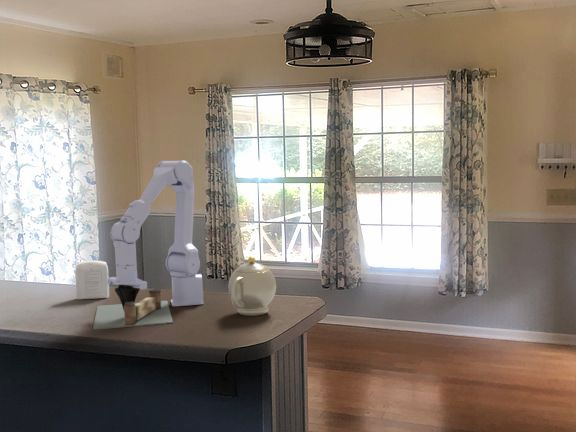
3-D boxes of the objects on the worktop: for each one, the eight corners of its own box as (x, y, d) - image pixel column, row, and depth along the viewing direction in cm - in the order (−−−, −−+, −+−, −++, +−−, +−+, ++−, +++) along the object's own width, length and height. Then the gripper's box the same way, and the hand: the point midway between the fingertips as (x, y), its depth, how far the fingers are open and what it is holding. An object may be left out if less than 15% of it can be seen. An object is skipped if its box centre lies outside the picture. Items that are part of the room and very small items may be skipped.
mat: (167, 301, 204) (167, 300, 204) (172, 323, 178) (172, 321, 178) (97, 307, 199) (97, 305, 199) (92, 329, 173) (92, 328, 173)
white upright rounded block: (109, 295, 215) (108, 258, 214) (109, 298, 211) (107, 260, 210) (77, 297, 213) (75, 260, 212) (76, 300, 209) (74, 262, 207)
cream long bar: (149, 308, 191) (148, 296, 191) (155, 308, 191) (155, 296, 190) (130, 319, 178) (130, 306, 178) (137, 319, 178) (137, 307, 178)
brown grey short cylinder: (161, 308, 195) (160, 288, 195) (161, 310, 192) (160, 290, 191) (149, 309, 194) (148, 289, 194) (149, 311, 191) (148, 291, 190)
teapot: (247, 305, 197) (245, 251, 195) (286, 309, 190) (285, 253, 188) (212, 318, 181) (210, 260, 180) (253, 324, 174) (251, 263, 173)
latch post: (136, 323, 178) (135, 301, 178) (136, 326, 175) (135, 303, 175) (125, 324, 178) (123, 302, 177) (125, 327, 175) (123, 304, 174)
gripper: (98, 264, 184) (100, 311, 185) (132, 268, 176) (134, 318, 177) (117, 260, 190) (120, 306, 191) (152, 264, 181) (154, 312, 183)
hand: (128, 311), depth 184 cm, fingers closed
